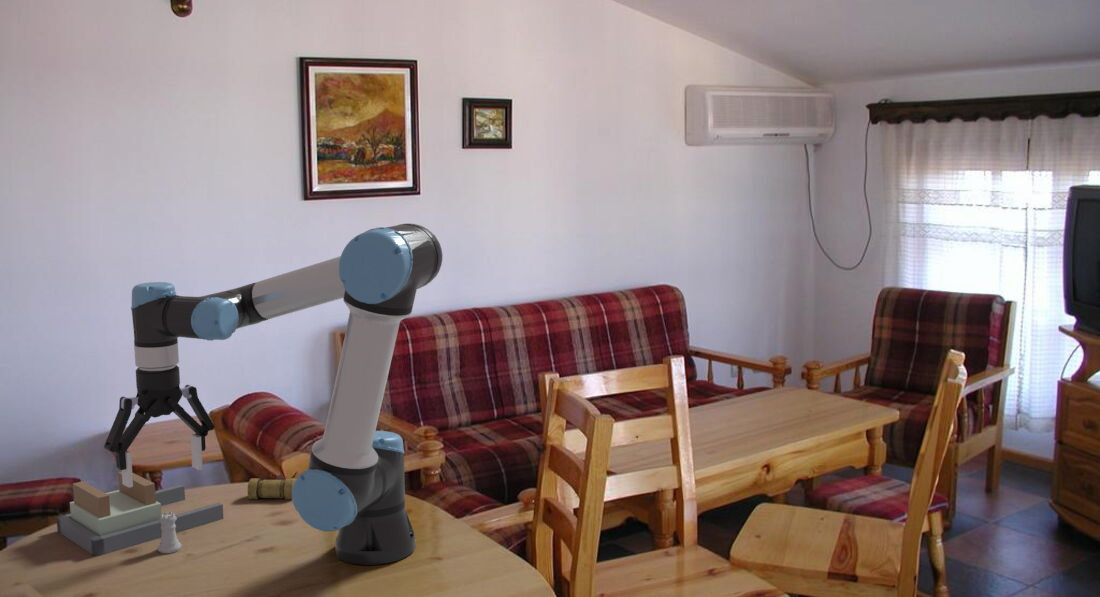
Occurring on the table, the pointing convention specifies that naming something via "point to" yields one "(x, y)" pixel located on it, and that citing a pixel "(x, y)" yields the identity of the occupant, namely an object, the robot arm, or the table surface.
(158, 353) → the robot arm
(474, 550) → the table surface
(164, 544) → the rook chess piece
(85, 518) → the mint green base plate
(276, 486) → the gavel
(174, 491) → the bay
